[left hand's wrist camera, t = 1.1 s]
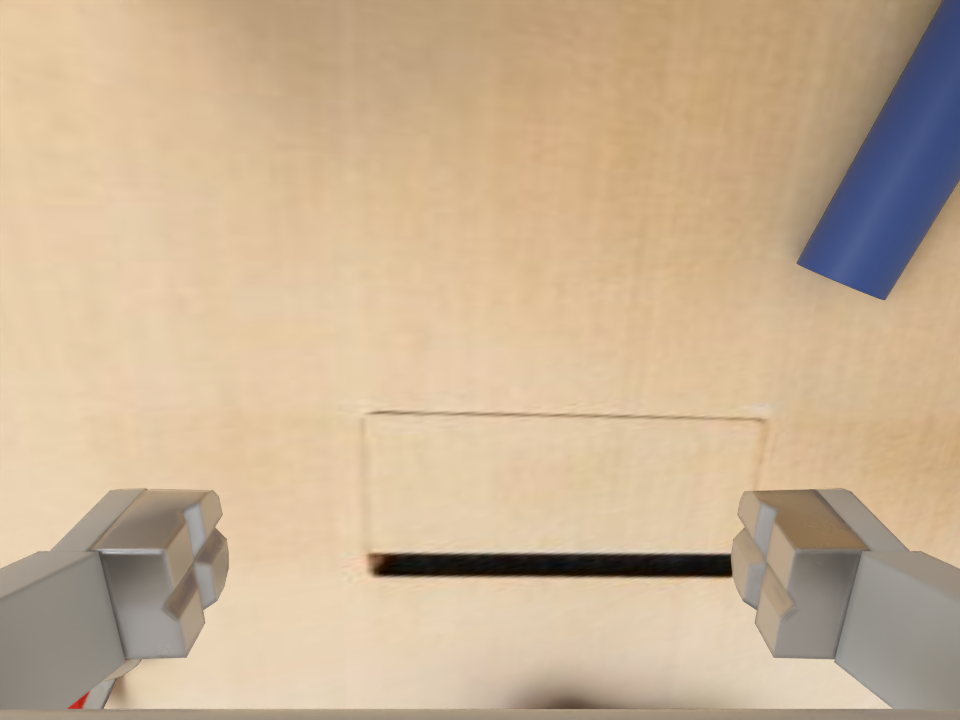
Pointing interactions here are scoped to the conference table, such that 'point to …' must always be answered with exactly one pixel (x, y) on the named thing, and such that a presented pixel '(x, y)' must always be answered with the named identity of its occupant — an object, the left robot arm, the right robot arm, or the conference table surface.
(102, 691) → the fish
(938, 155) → the rod
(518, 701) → the conference table surface
